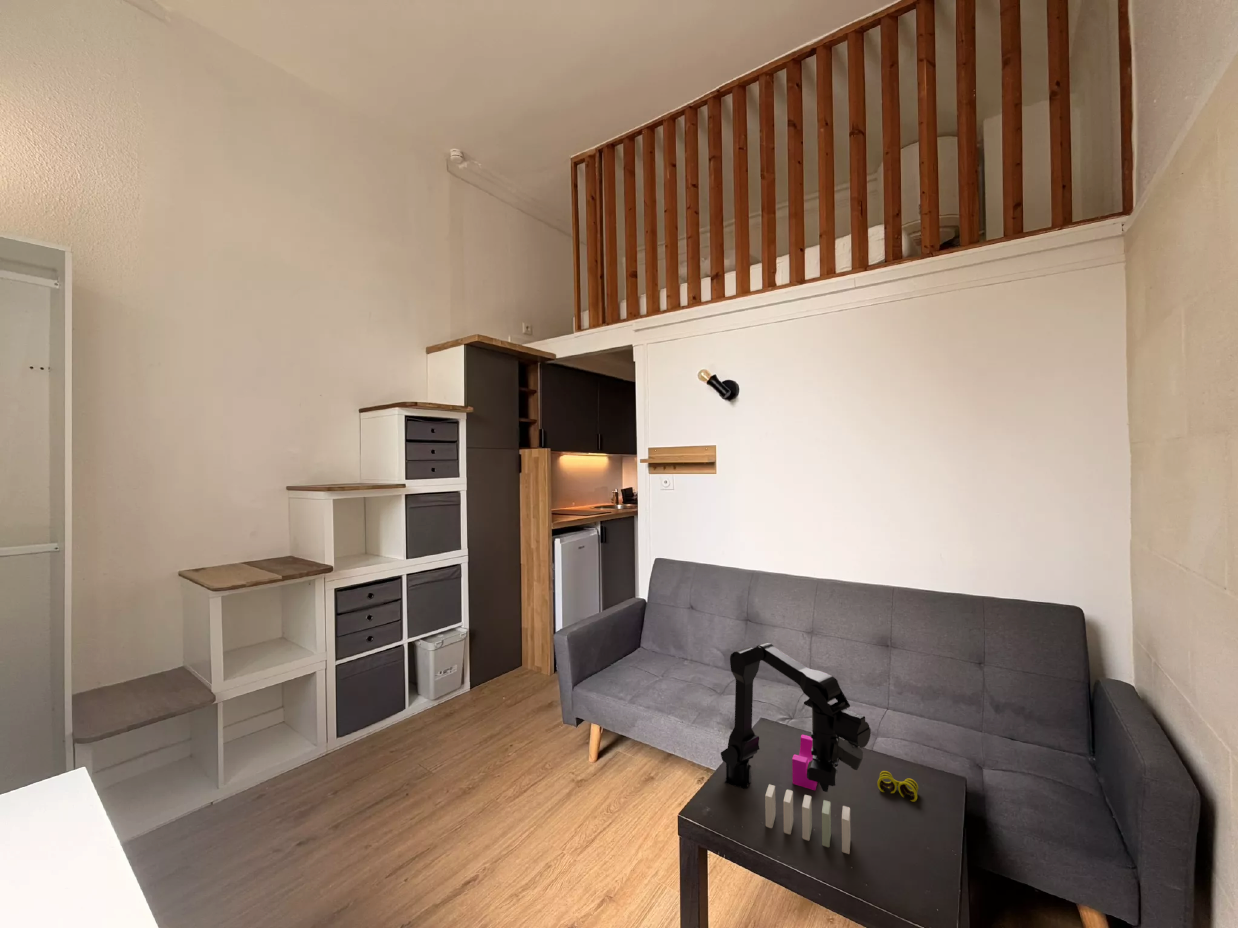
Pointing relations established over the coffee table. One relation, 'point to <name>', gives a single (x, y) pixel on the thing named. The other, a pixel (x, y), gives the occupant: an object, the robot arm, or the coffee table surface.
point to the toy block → (803, 764)
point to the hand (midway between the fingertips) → (825, 790)
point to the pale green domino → (826, 823)
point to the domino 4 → (846, 830)
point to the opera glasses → (901, 785)
